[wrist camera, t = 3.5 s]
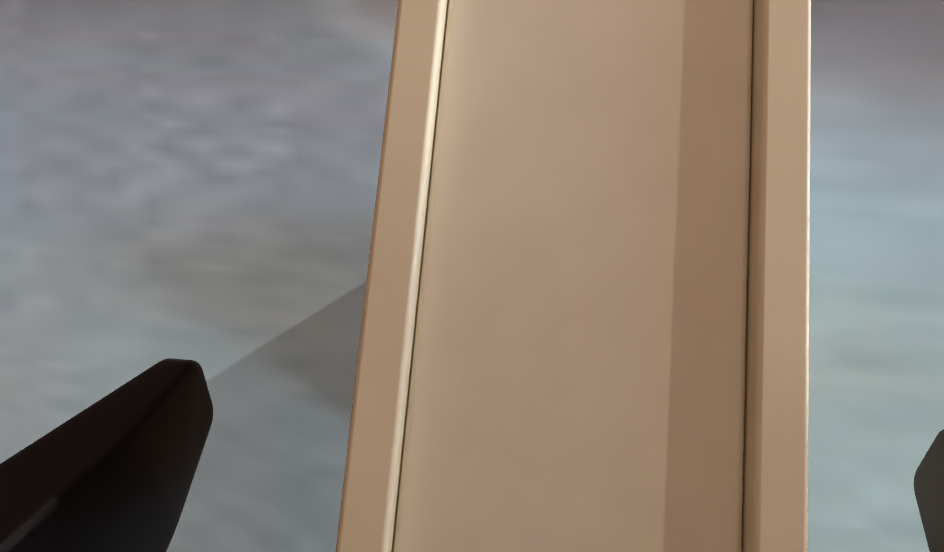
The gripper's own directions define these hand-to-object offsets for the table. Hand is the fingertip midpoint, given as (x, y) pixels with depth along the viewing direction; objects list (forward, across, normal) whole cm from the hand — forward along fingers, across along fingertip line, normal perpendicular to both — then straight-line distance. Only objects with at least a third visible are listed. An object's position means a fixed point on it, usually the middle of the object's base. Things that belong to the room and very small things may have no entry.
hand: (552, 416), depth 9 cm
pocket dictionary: (+7, 0, +6) cm, 9 cm away
